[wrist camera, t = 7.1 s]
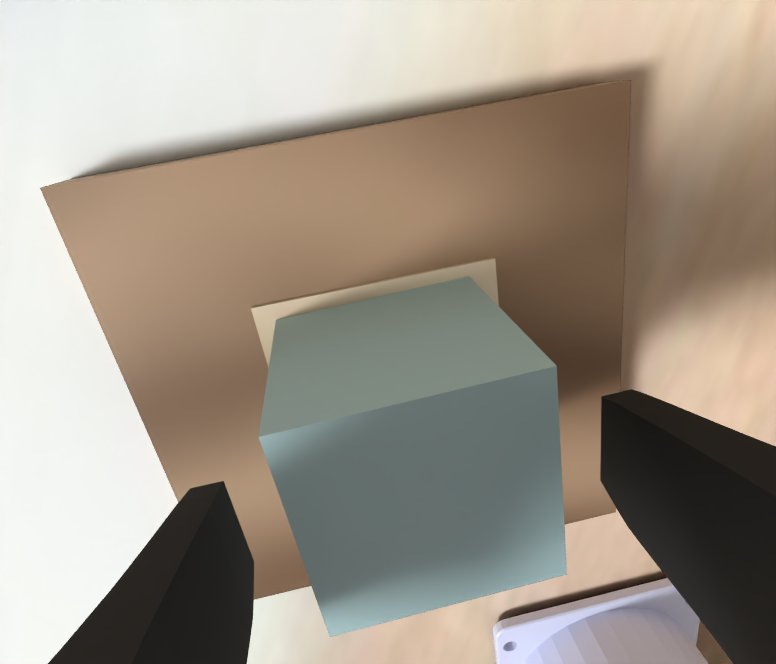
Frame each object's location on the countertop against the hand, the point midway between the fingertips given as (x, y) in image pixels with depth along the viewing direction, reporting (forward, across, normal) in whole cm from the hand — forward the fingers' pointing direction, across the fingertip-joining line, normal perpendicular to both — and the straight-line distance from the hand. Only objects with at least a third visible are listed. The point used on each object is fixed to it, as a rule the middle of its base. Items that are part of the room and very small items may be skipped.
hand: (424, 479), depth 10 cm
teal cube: (+3, 0, 0) cm, 3 cm away
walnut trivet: (+5, 0, 0) cm, 5 cm away
